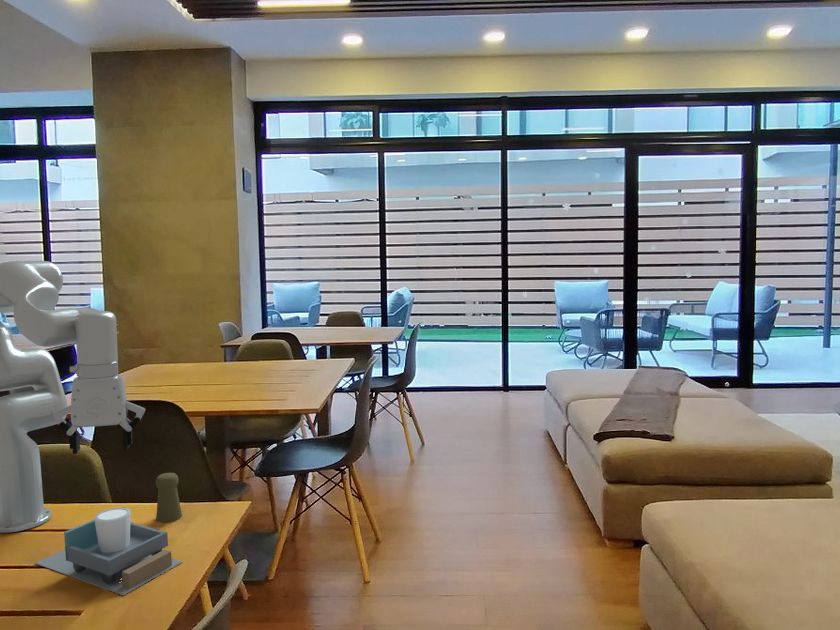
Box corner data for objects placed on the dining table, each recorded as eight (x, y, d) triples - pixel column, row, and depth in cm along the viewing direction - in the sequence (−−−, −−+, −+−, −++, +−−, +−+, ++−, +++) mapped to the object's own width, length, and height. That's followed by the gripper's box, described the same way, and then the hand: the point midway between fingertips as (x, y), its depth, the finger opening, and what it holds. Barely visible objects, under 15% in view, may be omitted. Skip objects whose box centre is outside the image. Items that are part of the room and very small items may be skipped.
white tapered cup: (115, 556, 124) (113, 522, 123) (88, 551, 126) (86, 518, 125) (140, 540, 131) (138, 509, 130) (114, 536, 133) (111, 505, 132)
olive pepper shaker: (176, 522, 149) (174, 478, 148) (151, 522, 149) (149, 478, 148) (186, 512, 155) (183, 469, 154) (162, 512, 155) (159, 470, 154)
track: (35, 563, 130) (33, 549, 129) (96, 536, 142) (95, 523, 142) (123, 595, 117) (122, 579, 116) (182, 562, 129) (181, 548, 129)
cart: (66, 571, 125) (64, 532, 124) (126, 543, 137) (123, 507, 136) (110, 587, 119) (108, 545, 118) (168, 556, 131) (166, 518, 130)
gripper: (46, 376, 122) (50, 459, 124) (140, 372, 127) (143, 452, 129) (56, 368, 129) (60, 447, 131) (145, 365, 134) (148, 441, 136)
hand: (101, 450), depth 130 cm, fingers open, 9 cm apart
